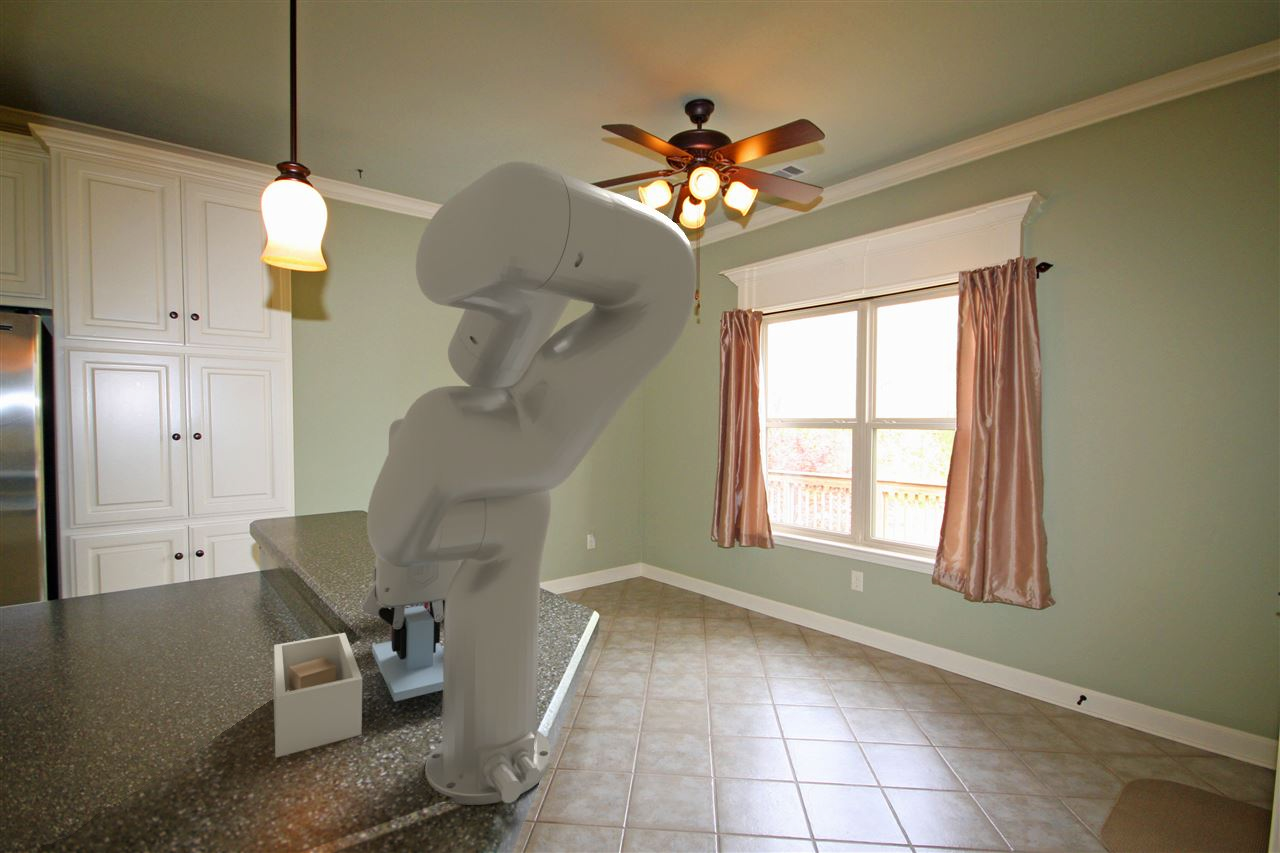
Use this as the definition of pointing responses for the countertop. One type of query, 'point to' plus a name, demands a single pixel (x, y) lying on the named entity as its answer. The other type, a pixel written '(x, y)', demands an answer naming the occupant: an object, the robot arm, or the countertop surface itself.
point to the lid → (412, 658)
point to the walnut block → (311, 674)
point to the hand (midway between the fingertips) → (415, 651)
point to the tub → (316, 696)
